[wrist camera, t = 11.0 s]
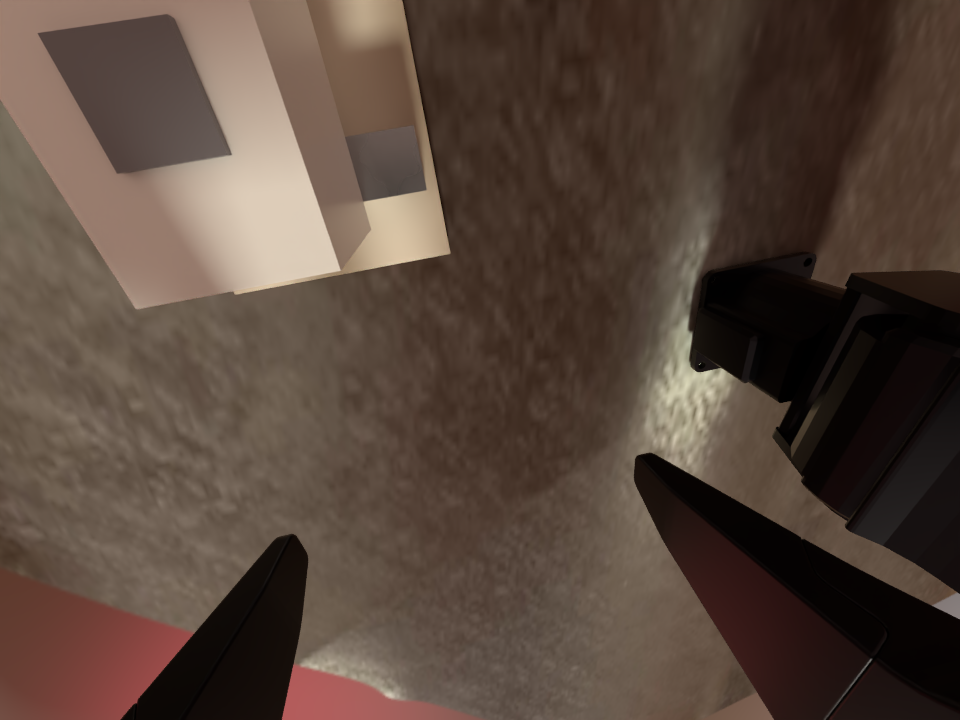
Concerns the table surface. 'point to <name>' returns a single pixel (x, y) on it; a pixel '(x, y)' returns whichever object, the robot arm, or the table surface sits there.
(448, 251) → the stand
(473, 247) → the table surface
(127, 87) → the power strip
